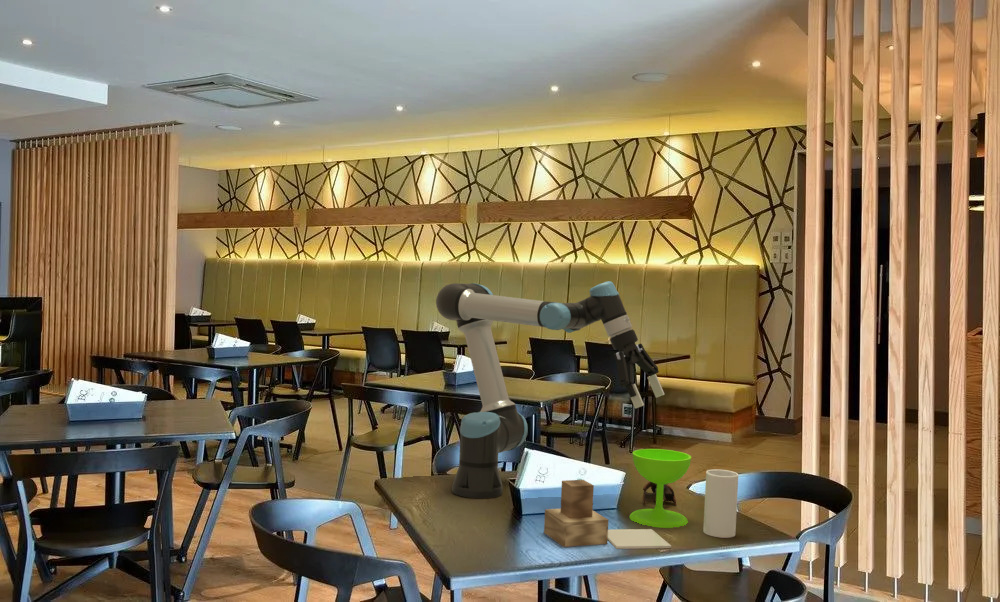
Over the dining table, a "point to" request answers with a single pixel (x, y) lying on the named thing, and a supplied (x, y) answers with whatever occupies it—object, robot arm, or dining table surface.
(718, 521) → the cup
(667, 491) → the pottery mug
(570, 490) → the cover
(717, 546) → the dining table surface
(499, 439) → the robot arm
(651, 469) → the wineglass
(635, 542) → the tile
